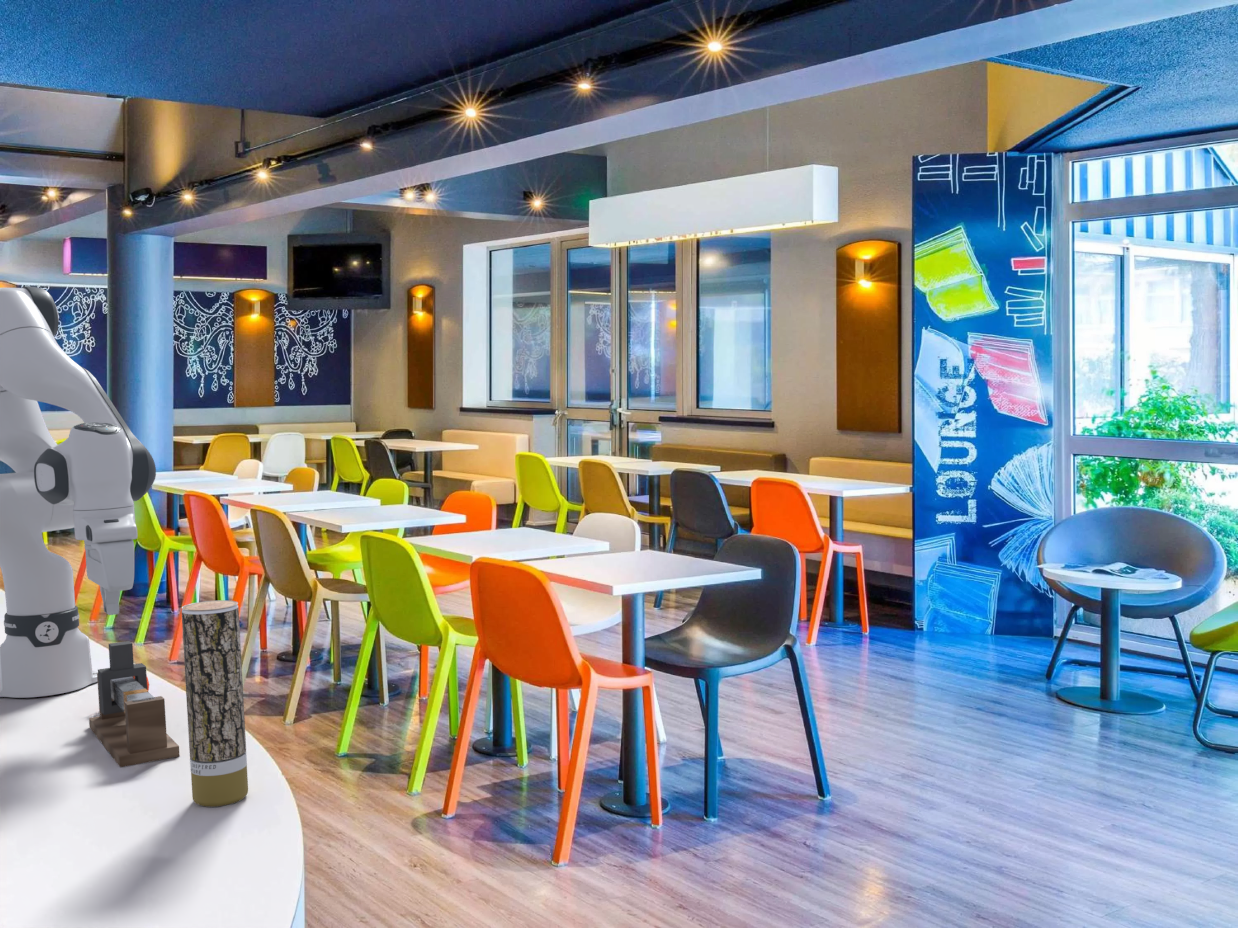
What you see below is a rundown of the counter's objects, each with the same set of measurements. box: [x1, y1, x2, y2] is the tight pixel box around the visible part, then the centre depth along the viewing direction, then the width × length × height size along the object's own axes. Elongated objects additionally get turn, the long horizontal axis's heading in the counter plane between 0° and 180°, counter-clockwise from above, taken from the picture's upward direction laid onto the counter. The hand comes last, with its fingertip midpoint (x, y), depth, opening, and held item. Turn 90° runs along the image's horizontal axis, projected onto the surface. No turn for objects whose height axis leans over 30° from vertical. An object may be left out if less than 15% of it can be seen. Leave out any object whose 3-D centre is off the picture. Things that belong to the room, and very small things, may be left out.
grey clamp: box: [97, 640, 148, 715], centre depth 184 cm, size 3×6×10 cm, turn 123°
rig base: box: [88, 673, 180, 768], centre depth 180 cm, size 25×8×8 cm, turn 33°
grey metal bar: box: [110, 677, 155, 712], centre depth 180 cm, size 22×3×3 cm, turn 33°
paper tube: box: [181, 599, 249, 808], centre depth 152 cm, size 7×7×25 cm
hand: (111, 613), depth 189 cm, fingers closed
